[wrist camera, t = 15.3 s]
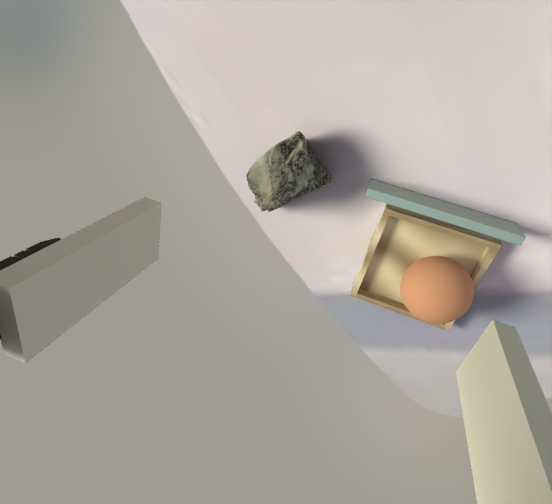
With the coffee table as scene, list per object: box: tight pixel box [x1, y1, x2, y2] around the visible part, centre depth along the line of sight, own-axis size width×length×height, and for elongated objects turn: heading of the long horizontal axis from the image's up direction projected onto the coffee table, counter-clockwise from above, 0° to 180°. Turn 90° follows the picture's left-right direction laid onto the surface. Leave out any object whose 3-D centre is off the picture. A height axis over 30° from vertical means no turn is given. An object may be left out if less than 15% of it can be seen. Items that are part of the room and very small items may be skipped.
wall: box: [365, 179, 526, 246], centre depth 41 cm, size 1×17×4 cm, turn 77°
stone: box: [247, 131, 331, 212], centre depth 43 cm, size 10×10×10 cm
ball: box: [400, 256, 474, 324], centre depth 43 cm, size 8×8×8 cm
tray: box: [351, 203, 502, 331], centre depth 46 cm, size 13×13×2 cm
